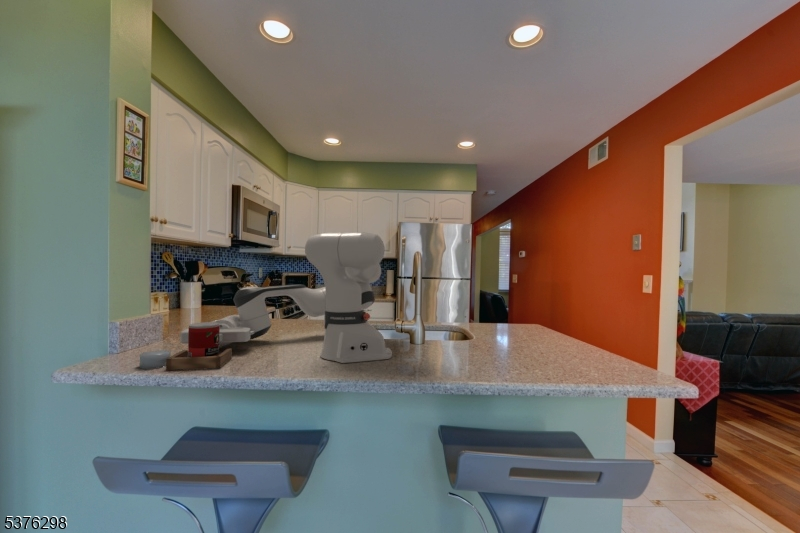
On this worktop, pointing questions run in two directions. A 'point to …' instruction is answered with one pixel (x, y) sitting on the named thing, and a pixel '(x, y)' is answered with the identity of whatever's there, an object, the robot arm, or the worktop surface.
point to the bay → (197, 361)
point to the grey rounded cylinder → (154, 359)
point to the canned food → (203, 339)
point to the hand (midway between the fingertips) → (208, 340)
